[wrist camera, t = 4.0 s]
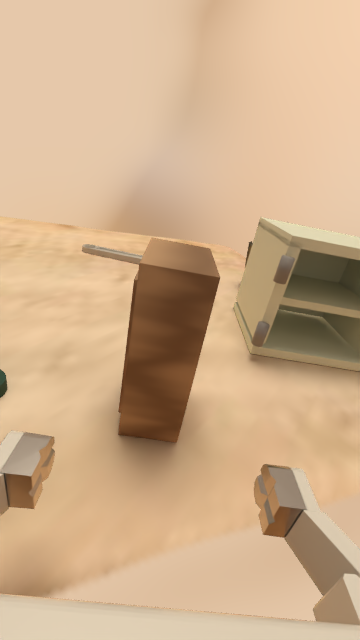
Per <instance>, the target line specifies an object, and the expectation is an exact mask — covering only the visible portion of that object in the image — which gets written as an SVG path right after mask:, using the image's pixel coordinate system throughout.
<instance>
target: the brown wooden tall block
mask: <svg viewBox="0 0 360 640" xmlns="http://www.w3.org/2000/svg"><path fill="white" fill-rule="evenodd" d="M219 280H220V276H219V273H218V270H217V267H216V264H215V261H214V258H213V256H212V253H211V250H210V249H209V248H204V247H198V246H193V245H188V244H183V243H177V242H172V241H167V240H162V239H156V238H151V240H150V242H149V244H148V247H147V249H146V251H145V253H144V255H143V257H142V259H141V261H140V264H139V270H138V273H137V275H136V277H135V279H134V286H133V294H132V303H131V311H130V320H129V328H128V337H127V345H126V354H125V362H124V371H123V379H122V388H121V396H120V405H119V412H121V418H120V426H119V435H126V436H133V437H140V438H148V439H155V440H162V441H170V442H177V440H178V436H179V432H180V429H181V425H182V421H183V417H184V413H185V410H186V406H187V402H188V398H189V394H190V391H191V387H192V383H193V379H194V375H195V372H196V368H197V364H198V360H199V356H200V353H201V349H202V345H203V341H204V337H205V334H206V330H207V326H208V322H209V318H210V315H211V311H212V307H213V303H214V299H215V295H216V292H217V288H218V284H219Z"/></svg>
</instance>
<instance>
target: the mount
mask: <svg viewBox="0 0 360 640" xmlns="http://www.w3.org/2000/svg"><path fill="white" fill-rule="evenodd" d="M6 391H7V381H6V375H5V373H4V372H3V371H2V370H1V369H0V397H2V396H3V395H4V394H5V392H6Z"/></svg>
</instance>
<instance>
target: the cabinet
mask: <svg viewBox="0 0 360 640" xmlns="http://www.w3.org/2000/svg"><path fill="white" fill-rule="evenodd" d="M236 300H237V302H235V304H234V311H235V314H236V316H237V319H238V322H239V324H240V327H241V330H242V333H243V335H244V338H245V341H246V343H247V346H248V349H249V351H250V354H256V355H262V356H269V357H275V358H281V359H287V360H293V361H299V362H305V363H311V364H317V365H323V366H330V367H336V368H342V369H348V370H354V371H360V237H356V236H352V235H346V234H342V233H337V232H332V231H327V230H322V229H317V228H312V227H307V226H302V225H297V224H292V223H287V222H282V221H277V220H272V219H267V218H262V217H261V218H260V221H259V224H258V227H257V231H256V234H255V238H254V241H253V244H252V247H251V251H250V254H249V257H248V261H247V264H246V267H245V271H244V274H243V277H242V281H241V284H240V288H239V291H238V294H237V298H236ZM278 309H279V310H278ZM284 310H285V311H284ZM290 311H291V312H290ZM295 312H296V313H295ZM301 313H302V314H301ZM307 314H308V315H307ZM312 315H313V316H312ZM318 316H319V317H318Z"/></svg>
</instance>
